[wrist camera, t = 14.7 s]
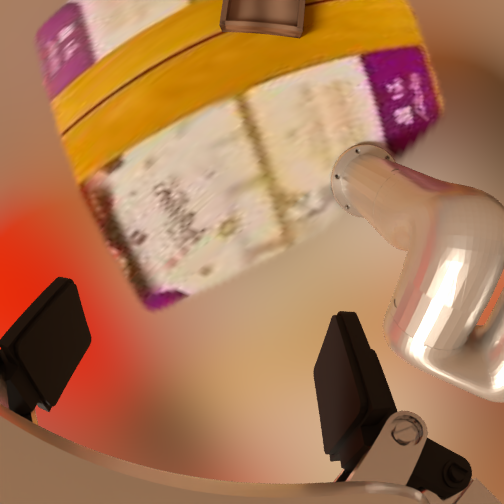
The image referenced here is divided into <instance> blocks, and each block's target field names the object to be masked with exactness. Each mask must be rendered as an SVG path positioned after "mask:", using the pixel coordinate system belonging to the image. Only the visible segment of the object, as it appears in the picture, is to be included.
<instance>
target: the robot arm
mask: <svg viewBox="0 0 504 504" xmlns="http://www.w3.org/2000/svg"><path fill="white" fill-rule="evenodd" d="M356 149H357V152H355V150H356ZM385 157H387V158H386V159H385ZM336 174H337V177H335V175H336ZM331 187H332V192H333V195H334V197H335V199H336V201H337V202H338V204H339V205H340V206H341V207H342V208H343V209H344V210H345V211H346V212H348V213H349V214H351V215H354V216H357V217H362V218H365V219H366V220H367V221H368V222H369V223H370V224H371V225H372V226H373V227H374V228H375V229H376V230H377V232H378V233H379V234H380V235H381V236H382V237H383V238H384V239H385V240H386V241H387V242H388V243H389V244H391V245H392V246H394V247H396V248H397V249H400V250H403V251H408V252H407V256H406V258H405V262H404V264H403V269H402V272H401V275H400V277H399V281H398V283H397V286H396V288H395V291H394V293H393V296H392V299H391V301H390V304H389V307H388V309H387V312H386V315H385V319H384V323H383V334H384V337H385V340H386V342H387V344H388V346H389V347H390V349H391V350H392V351H393V352H394V353H395V354H396V355H397V356H399V357H400V358H401V359H402V360H404V361H405V362H407V363H408V364H410V365H412V366H414V367H415V368H417V369H419V370H421V371H424V372H426V373H428V374H430V375H432V376H434V377H436V378H438V379H441V380H443V381H445V382H447V383H449V384H452V385H454V386H456V387H458V388H461V389H463V390H465V391H468V392H470V393H472V394H474V395H476V396H479V397H481V398H484V399H486V400H489V401H493V402H504V288H503V290H502V293H501V295H500V297H499V299H498V301H497V303H496V305H495V307H494V308H493V310H492V312H491V314H490V316H489V318H488V320H487V322H486V323H485V324H484V325H482V326H479V325H476V324H477V322H478V320H479V318H480V317H481V315H482V313H483V311H484V309H485V308H486V306H487V304H488V302H489V300H490V298H491V296H492V294H493V292H494V289H495V287H496V285H497V283H498V280H499V278H500V276H501V274H502V271H503V269H504V206H503V205H502V204H501V203H500V202H499V201H498V200H497V199H495V198H494V197H493V196H491V195H489V194H488V193H486V192H484V191H482V190H478V189H475V188H473V187H469V186H464V185H459V184H454V183H449V182H445V181H441V180H438V179H435V178H433V177H430V176H427V175H425V174H422V173H420V172H417V171H415V170H412V169H410V168H407V167H405V166H402V165H400V164H397V163H396V162H395V160H394V159H393V157H392V156H391V155H390V154H389V153H388V152H387V151H385V150H383V149H382V148H380V147H377V146H374V145H368V144H362V145H357V146H354V147H352V148H350V149H348V150H347V151H345V152H344V153H343V154H342V155H341V156H340V157H339V158H338V160H337V161H336V163H335V165H334V168H333V170H332V175H331ZM346 205H348V206H347V207H345V206H346ZM90 343H91V334H90V331H89V328H88V325H87V322H86V319H85V316H84V312H83V308H82V305H81V301H80V297H79V294H78V290H77V286H76V285H75V284H74V282H73V280H71V279H68V278H63V277H58V278H56V279H55V280H54V281H53V282H52V283H51V284H50V285H49V287H47V288H46V289H45V290H44V291H43V292H42V293H41V295H40V296H39V297H38V298H37V299H36V300H35V301H34V302H33V303H32V304H31V305H30V306H29V307H28V308H27V310H25V312H24V313H23V314H22V315H21V316H20V317H19V318H18V319H17V321H16V322H15V323H14V324H13V325H12V326H11V327H10V329H9V330H8V331H7V332H6V333H5V334H4V336H3V337H2V338H1V339H0V347H1V350H0V504H501V502H500V501H499V500H498V499H497V498H496V497H495V496H494V495H493V494H492V493H491V492H489V490H487V488H486V487H485V486H484V485H483V484H482V483H481V482H480V481H479V480H478V479H477V478H475V479H472V478H471V476H472V470H471V467H470V464H469V463H468V461H467V460H466V459H465V458H463V457H462V456H460V455H458V454H456V453H454V452H452V451H451V450H448V449H447V448H445V447H443V446H441V445H439V444H438V443H436V442H434V441H432V440H430V439H429V438H427V434H428V432H427V427H426V424H425V422H424V421H423V420H422V419H421V417H419V416H418V415H416V414H415V413H412V412H409V411H399V412H397V409H396V406H395V403H394V400H393V398H392V395H391V392H390V389H389V387H388V383H387V381H386V378H385V375H384V373H383V370H382V367H381V365H380V362H379V360H378V357H377V354H376V353H375V351H374V350H373V349H370V346H369V344H368V341H367V338H366V336H365V333H364V331H363V329H362V326H361V324H360V321H359V319H358V316H357V314H356V313H355V312H344V311H340V312H338V314H337V315H333V316H332V318H331V322H330V324H329V328H328V330H327V334H326V336H325V339H324V342H323V345H322V348H321V350H320V353H319V356H318V359H317V362H316V364H315V367H314V381H315V388H316V394H317V401H318V408H319V414H320V422H321V429H322V436H323V444H324V451H325V454H330V461H341V467H342V468H343V470H342V471H341V473H340V474H339V475H338V477H337V478H336V479H335V481H334V482H330V483H307V484H265V483H243V482H231V481H221V480H212V479H205V478H199V477H192V476H187V475H181V474H176V473H171V472H166V471H162V470H157V469H153V468H149V467H145V466H141V465H138V464H134V463H131V462H127V461H124V460H121V459H118V458H114V457H111V456H108V455H106V454H103V453H100V452H97V451H95V450H92V449H89V448H87V447H84V446H82V445H79V444H77V443H74V442H72V441H70V440H67V439H65V438H63V437H61V436H58V435H56V434H54V433H52V432H50V431H48V430H46V429H44V428H42V427H40V426H38V421H37V417H36V412H35V407H36V405H38V407H40V408H42V409H43V410H46V411H48V412H49V411H50V410H51V408H52V406H55V405H56V403H57V402H58V399H59V398H60V396H61V394H62V392H63V390H64V388H65V387H66V385H67V383H68V381H69V380H70V378H71V376H72V374H73V373H74V371H75V369H76V367H77V365H78V364H79V362H80V361H81V359H82V357H83V355H84V354H85V352H86V351H87V349H88V347H89V345H90Z"/></svg>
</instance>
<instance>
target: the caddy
mask: <svg viewBox="0 0 504 504" xmlns="http://www.w3.org/2000/svg"><path fill="white" fill-rule="evenodd" d="M304 10H305V0H223V5H222V11H221V18H220V27H221V29H222V32H245V33H260V34H270V35H279V36H287V37H294V38H300V36H301V34H302V32H303V21H304Z"/></svg>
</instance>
